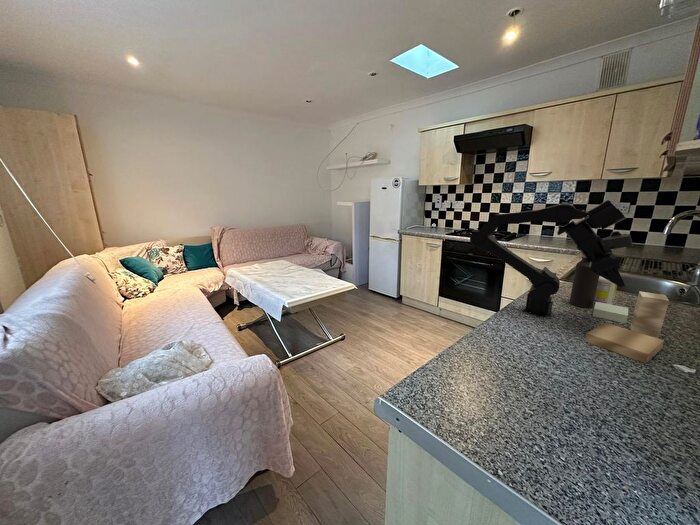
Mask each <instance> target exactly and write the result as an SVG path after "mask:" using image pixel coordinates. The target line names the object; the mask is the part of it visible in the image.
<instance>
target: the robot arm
mask: <svg viewBox="0 0 700 525" xmlns="http://www.w3.org/2000/svg"><path fill="white" fill-rule="evenodd" d="M626 219H627V218H626V215H624V214H623V212H622V211H621V210H620V209H619V208H618V207H616V206H615V205H614V204H613V203H612V201H610V200H609V199H606V200H605V201H603V202H601V203H600V204H599V205H596V206H595V207H593V208H591V209H589V210H588V211H587V210H585V209H579V208H576V207H575V206H574V205H573V204H571V203H568V202H567V203H566V202H565V203H564V202H563V203H559V204H555V205H551V206H547V207H545V208H540V209H533V210H532V209H531V210H526V211H517V212H516V211H515V212H508V213H507V212H506V213H496V214H493V215H492V216H490V219H488V221H487V222H486V223H485V224H484V225H482V227H480V228H479V229H478V230H476V231H474V232H472V233H471V234H470V236H469V237H470V238H469V241H470V244H471V245H472V246H474V247H475V248H477V249H480V250H482V251H485V252H489V253H490V254H492V255H494V256H495V257H497V258H499V260H501V261H502V262H504V263H505V264H507V266H510V267H511V268H512V269H514V270H515V271H517V272H518V273H519V274H521V275H523V277H525V278H526V279H528V281H529V282H530V283H531V286H530V288H529V292H528V293H527V295H526V302H525V308H522V311H523V312H525V313H528V314H531V315H534V316H537V317H539V318H544V317H546V316H548V315H551V314H552V313H553V311H552V309H553V304H554V302H553V301H552V300H553V297H552V296H553V295H555V294H557V293H558V291H559V289H560V286H561V285H560V284H561V283H560V278H559V277H558V276H557V273H555V272H552V271H551V270H550V269H549V268H548V267H547V266H544V267H543V269H541V268H537V267H535V266H534V265H532V264H530V263H529V262H528V261H526V260H525V259H523V258H522V257H520V256H519V255H517V254H516V253H514V252H513V251H512V250H511V249H508V248H507V247H506V246H504V245H503V244H501V243H500V242H499V241H498V240H497V239H496V237H495V236H494V235H493V233H495V231H496V230H497V229H498V228H499V227H500V226H502V225H503V226H504V225H513V224H524V223H525V224H526V223H534V222H536V223H537V222H542V223H554V224H555V223H556V224H558V223H559V225H558V227H557V228H558V230H557V232H556V234H557V235H558V236H560V235H562V234H564V233H565V234H566V235H567V236H568V238H569V239H570V240H571V241H572V243H573V244H574V245H575V247H576V248H577V249H578V251H579V252H581V255H582V254H583V255H584V256H585V258H586V260H587V261H588V262H590V264H589V267H590V268H591V270H592V271H593V272H594V273H595V274H597V275H599V276H601V277H603V278H605V279H607V280H609V281H610V282H612V283H614V284H616V285H617V287H620V288H623V287H625V286H626V284H625V282H624V279H623V278H622V276H621V273H620V271H619V269H620V266H621V264H622V262H621V260H620V258H619V257H617V255H616V254H614V252H613V251H612V250H616V249H621V248H632V247H633V246H634V244H633V240H632V236H631V234H629V233H623V234H622V233H621V232H620V231H619V230H615V231H612V232H611V233H610V235H609V236H607V237H601V236H600V235H598V234H597V233H596V231H595V230H597V229H601V230H605V229H607V228H610V227H611V226H613V225H616V224H618V223H619V222H621V221H623V220H626ZM574 220H579V221H577V222H575V221H574ZM587 221H588V222H589V223H590V224H591V225H592V227H594V229H595V230H593V228H592V227H591V226H590V224H589V223H588V222H587ZM565 223H567V224H565ZM560 224H565V225H560ZM591 260H592V261H591Z"/></svg>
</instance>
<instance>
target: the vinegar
mask: <svg viewBox="0 0 700 525" xmlns="http://www.w3.org/2000/svg"><path fill="white" fill-rule="evenodd" d="M580 257H581V260H580V261H578V262H577V263H576V264H575V269H574V275H573V281H572V286H571V291H570V296H569V304H571V305H573V306H575V307H578V308H583V309H584V308H585V309H589V308H590V309H591V308H594V306H595V303H594V300H595V295H596V291H597V286H598V281H599V275H597V274H595V273H594V272H593V271H592V270H591V268H590V267H589V264H590V262H588V261H587V260H586V258H585V256H584V255H583V254H582V253H581V255H580ZM591 261H592V260H591Z"/></svg>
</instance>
